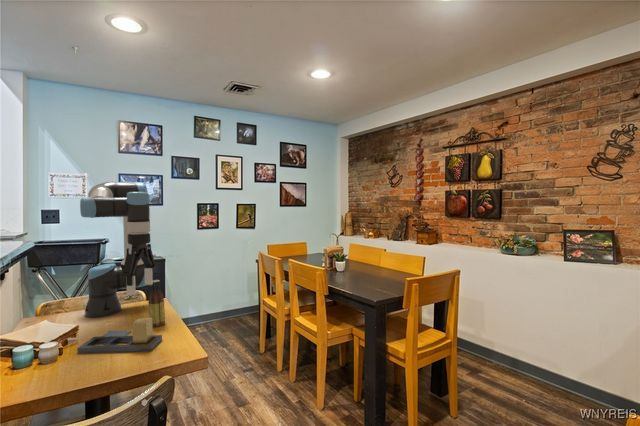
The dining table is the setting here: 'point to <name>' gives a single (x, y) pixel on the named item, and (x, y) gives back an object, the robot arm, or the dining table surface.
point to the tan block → (142, 331)
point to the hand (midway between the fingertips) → (140, 289)
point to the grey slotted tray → (112, 346)
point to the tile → (117, 333)
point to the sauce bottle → (156, 305)
